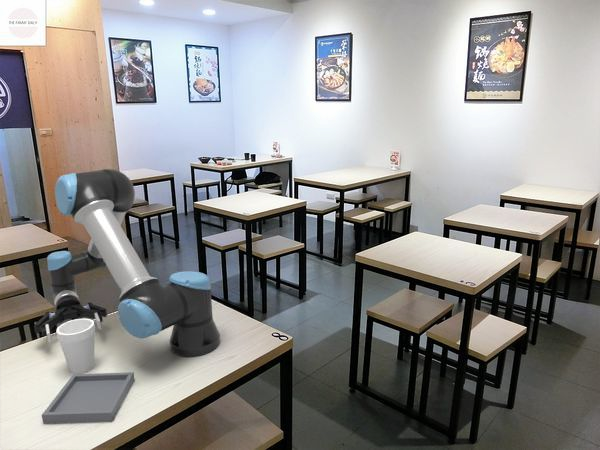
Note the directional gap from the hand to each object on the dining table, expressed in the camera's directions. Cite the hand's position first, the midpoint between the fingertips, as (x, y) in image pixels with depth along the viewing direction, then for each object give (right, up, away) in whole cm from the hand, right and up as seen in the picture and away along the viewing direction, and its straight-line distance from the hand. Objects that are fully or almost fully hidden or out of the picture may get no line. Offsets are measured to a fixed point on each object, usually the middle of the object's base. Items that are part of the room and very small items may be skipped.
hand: (74, 331), depth 130 cm
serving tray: (+15, -13, -20) cm, 28 cm away
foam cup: (+5, -9, -6) cm, 12 cm away
